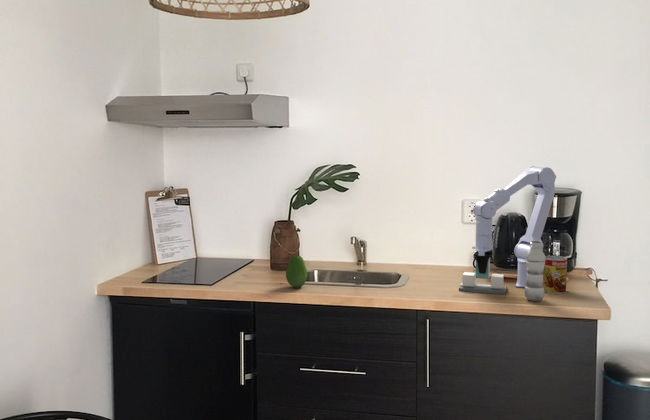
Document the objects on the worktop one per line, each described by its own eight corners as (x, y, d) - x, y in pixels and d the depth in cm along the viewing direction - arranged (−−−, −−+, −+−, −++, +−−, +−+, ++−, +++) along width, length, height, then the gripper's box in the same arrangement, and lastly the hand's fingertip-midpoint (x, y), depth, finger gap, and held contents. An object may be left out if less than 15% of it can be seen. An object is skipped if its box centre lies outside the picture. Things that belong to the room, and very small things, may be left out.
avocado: (310, 285, 236) (309, 254, 235) (302, 290, 229) (302, 258, 228) (290, 284, 239) (290, 253, 238) (282, 288, 232) (281, 256, 230)
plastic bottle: (539, 297, 215) (541, 240, 213) (547, 302, 209) (549, 243, 206) (521, 298, 215) (522, 240, 213) (528, 303, 208) (530, 243, 206)
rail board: (506, 288, 229) (507, 273, 228) (504, 294, 220) (505, 278, 220) (462, 285, 234) (462, 270, 234) (458, 290, 226) (458, 275, 225)
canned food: (557, 294, 219) (558, 260, 218) (538, 290, 225) (539, 257, 224) (570, 291, 224) (571, 258, 222) (551, 287, 230) (552, 254, 228)
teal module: (489, 276, 228) (489, 257, 227) (488, 279, 224) (488, 259, 223) (476, 275, 229) (476, 257, 229) (475, 278, 226) (475, 259, 225)
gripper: (474, 231, 233) (474, 267, 235) (469, 237, 219) (469, 275, 221) (494, 232, 231) (493, 268, 232) (490, 238, 217) (489, 276, 219)
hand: (483, 272), depth 226 cm, fingers closed on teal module, 4 cm apart
